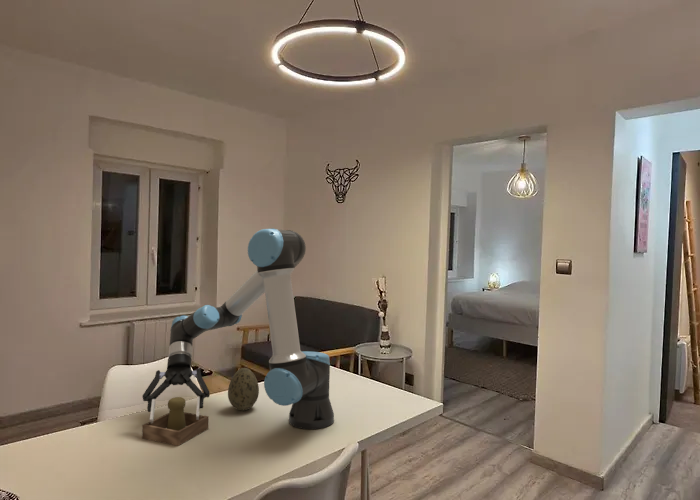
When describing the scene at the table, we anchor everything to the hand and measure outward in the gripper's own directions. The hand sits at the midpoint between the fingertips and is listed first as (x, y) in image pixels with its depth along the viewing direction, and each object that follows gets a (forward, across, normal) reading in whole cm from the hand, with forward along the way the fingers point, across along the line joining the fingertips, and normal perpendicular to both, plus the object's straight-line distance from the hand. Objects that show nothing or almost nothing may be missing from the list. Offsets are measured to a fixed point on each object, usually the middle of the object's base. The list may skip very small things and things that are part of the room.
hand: (174, 419), depth 140 cm
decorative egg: (-9, -22, -17) cm, 29 cm away
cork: (+2, 0, -5) cm, 5 cm away
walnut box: (+2, 0, -5) cm, 5 cm away
